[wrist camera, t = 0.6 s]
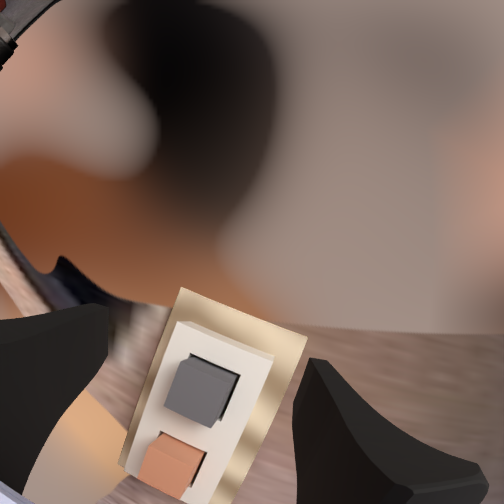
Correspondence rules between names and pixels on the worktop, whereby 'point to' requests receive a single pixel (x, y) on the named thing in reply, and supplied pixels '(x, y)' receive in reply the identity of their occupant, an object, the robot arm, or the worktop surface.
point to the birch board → (254, 335)
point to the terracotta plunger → (170, 465)
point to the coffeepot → (6, 23)
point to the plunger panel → (209, 440)
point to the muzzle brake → (6, 47)
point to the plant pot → (2, 4)
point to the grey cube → (200, 391)
